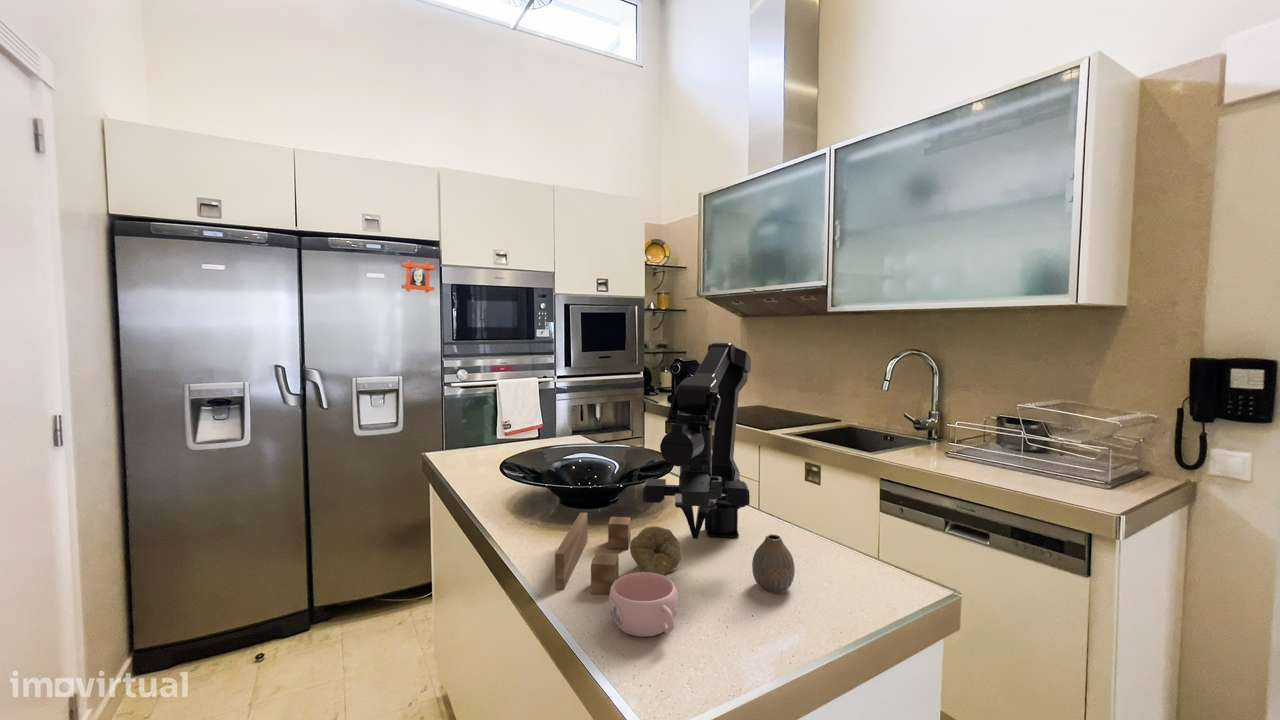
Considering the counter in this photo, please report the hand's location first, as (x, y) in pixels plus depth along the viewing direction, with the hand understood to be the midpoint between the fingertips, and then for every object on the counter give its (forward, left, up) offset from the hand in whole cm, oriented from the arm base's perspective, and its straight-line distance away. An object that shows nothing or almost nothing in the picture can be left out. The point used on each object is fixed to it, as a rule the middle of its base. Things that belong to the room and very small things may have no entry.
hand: (695, 538), depth 95 cm
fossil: (+7, +1, -6) cm, 9 cm away
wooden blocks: (+18, 0, -6) cm, 19 cm away
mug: (+7, +20, -6) cm, 22 cm away
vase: (-13, +6, -6) cm, 15 cm away
